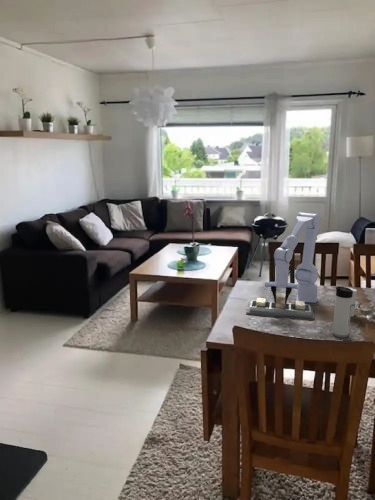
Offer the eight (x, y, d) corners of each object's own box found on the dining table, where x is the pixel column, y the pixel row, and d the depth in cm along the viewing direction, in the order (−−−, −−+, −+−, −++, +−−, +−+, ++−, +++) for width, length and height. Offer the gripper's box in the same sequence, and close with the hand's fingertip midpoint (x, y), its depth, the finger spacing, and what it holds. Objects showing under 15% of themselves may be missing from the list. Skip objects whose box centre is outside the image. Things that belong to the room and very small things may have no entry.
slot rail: (312, 309, 194) (313, 299, 193) (314, 320, 182) (315, 309, 181) (248, 304, 201) (248, 294, 200) (246, 314, 189) (246, 303, 187)
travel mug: (328, 331, 170) (332, 285, 166) (344, 331, 171) (348, 284, 166) (335, 338, 164) (339, 290, 160) (351, 337, 165) (356, 289, 160)
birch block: (284, 303, 193) (285, 293, 192) (284, 308, 188) (285, 297, 187) (275, 302, 194) (276, 292, 193) (275, 307, 189) (276, 297, 187)
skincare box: (340, 315, 188) (342, 290, 185) (339, 311, 192) (341, 287, 189) (354, 317, 186) (357, 291, 183) (353, 313, 190) (356, 288, 187)
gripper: (265, 275, 185) (264, 304, 188) (298, 277, 182) (296, 306, 185) (266, 271, 192) (264, 299, 195) (298, 273, 189) (296, 301, 192)
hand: (280, 302), depth 190 cm, fingers closed on birch block, 4 cm apart
